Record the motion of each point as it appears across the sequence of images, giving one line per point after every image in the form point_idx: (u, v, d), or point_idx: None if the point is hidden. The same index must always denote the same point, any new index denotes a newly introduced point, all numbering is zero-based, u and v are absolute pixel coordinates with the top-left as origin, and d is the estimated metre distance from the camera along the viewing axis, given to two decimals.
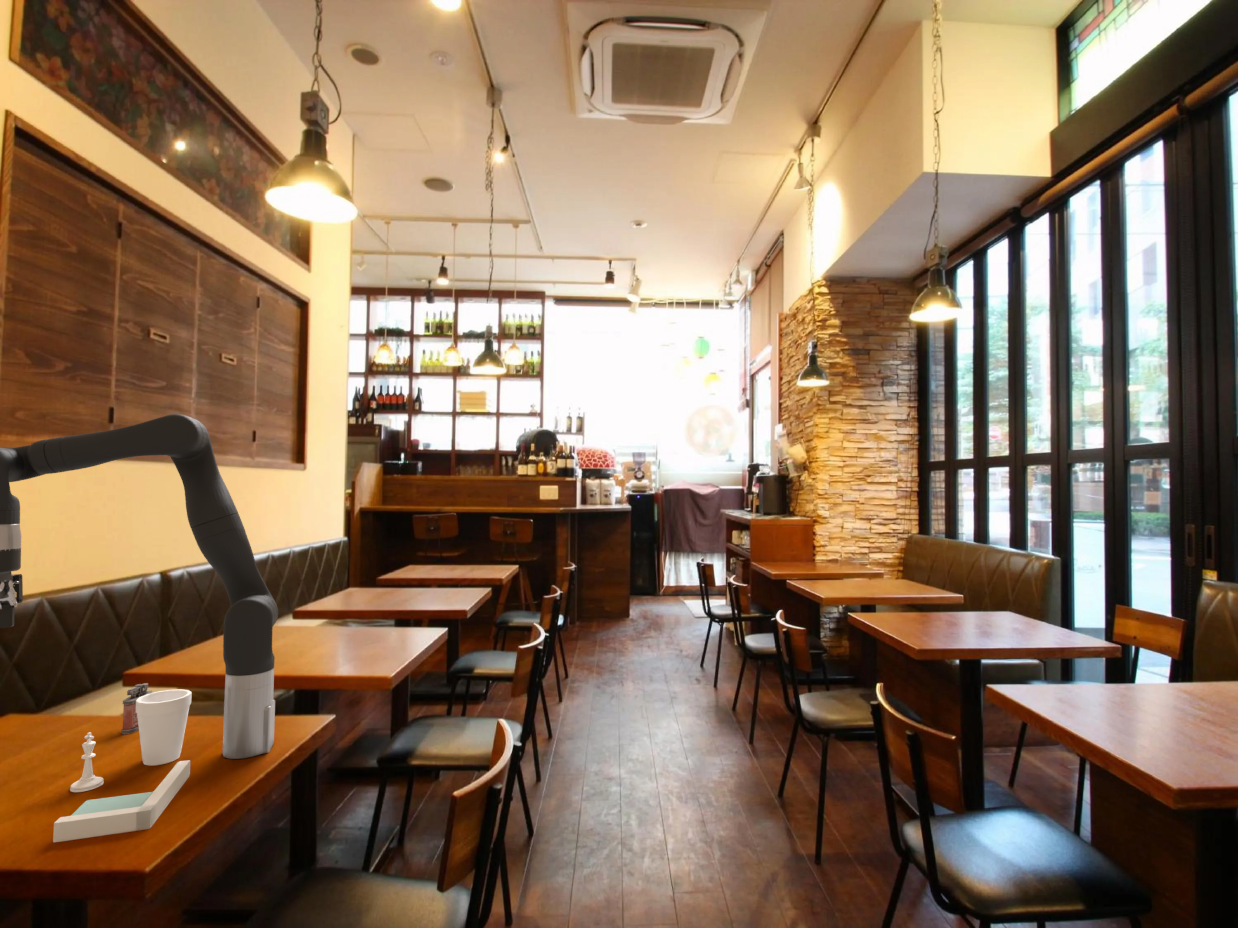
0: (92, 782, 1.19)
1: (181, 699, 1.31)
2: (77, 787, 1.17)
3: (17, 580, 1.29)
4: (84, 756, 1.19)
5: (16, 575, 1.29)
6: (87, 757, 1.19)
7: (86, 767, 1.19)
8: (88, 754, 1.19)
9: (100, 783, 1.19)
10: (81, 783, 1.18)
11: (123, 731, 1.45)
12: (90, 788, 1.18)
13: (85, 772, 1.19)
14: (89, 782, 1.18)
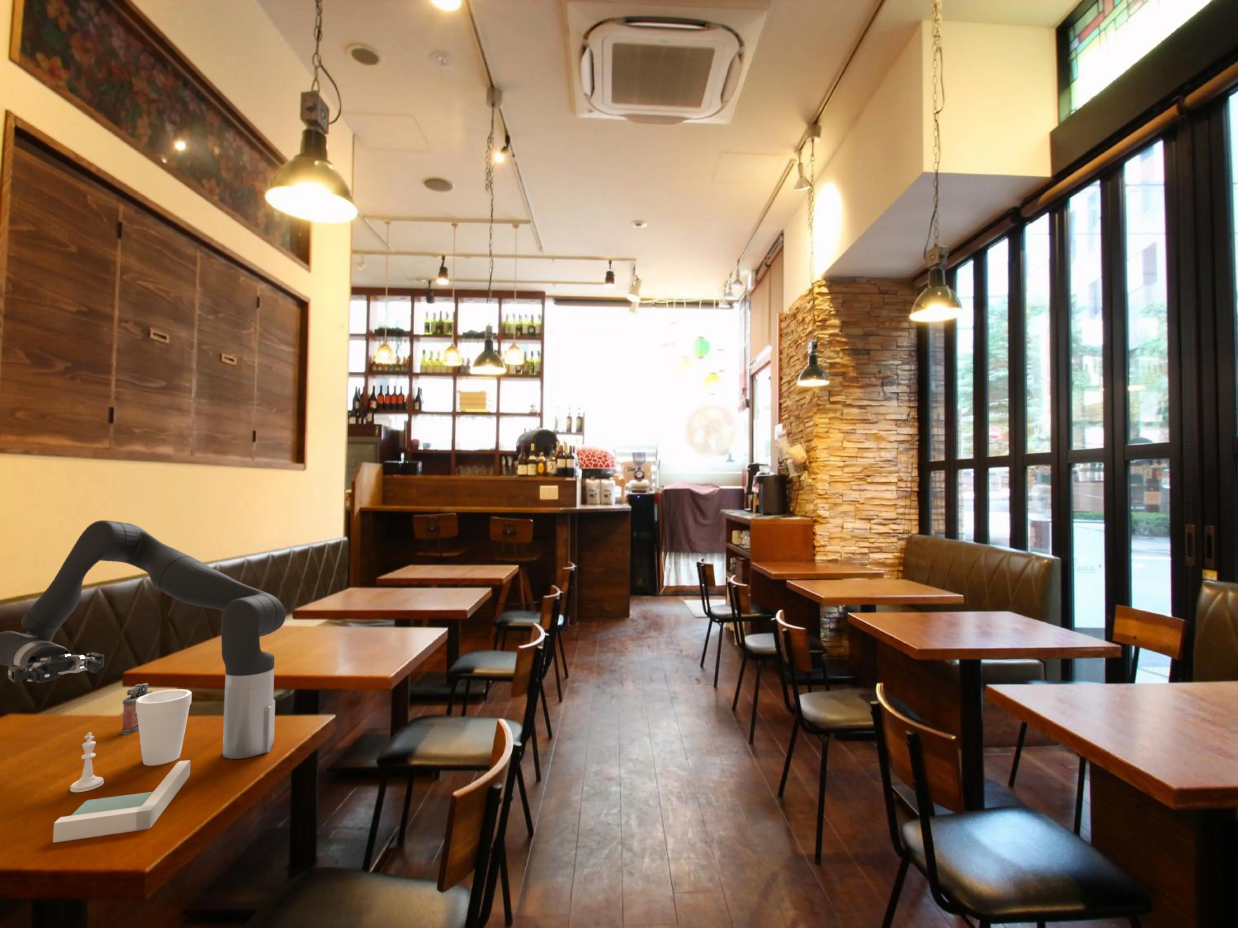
0: (92, 782, 1.19)
1: (181, 699, 1.31)
2: (77, 787, 1.17)
3: None
4: (84, 756, 1.19)
5: None
6: (87, 757, 1.19)
7: (86, 767, 1.19)
8: (88, 754, 1.19)
9: (100, 783, 1.19)
10: (81, 783, 1.18)
11: (123, 731, 1.45)
12: (90, 788, 1.18)
13: (85, 772, 1.19)
14: (89, 782, 1.18)
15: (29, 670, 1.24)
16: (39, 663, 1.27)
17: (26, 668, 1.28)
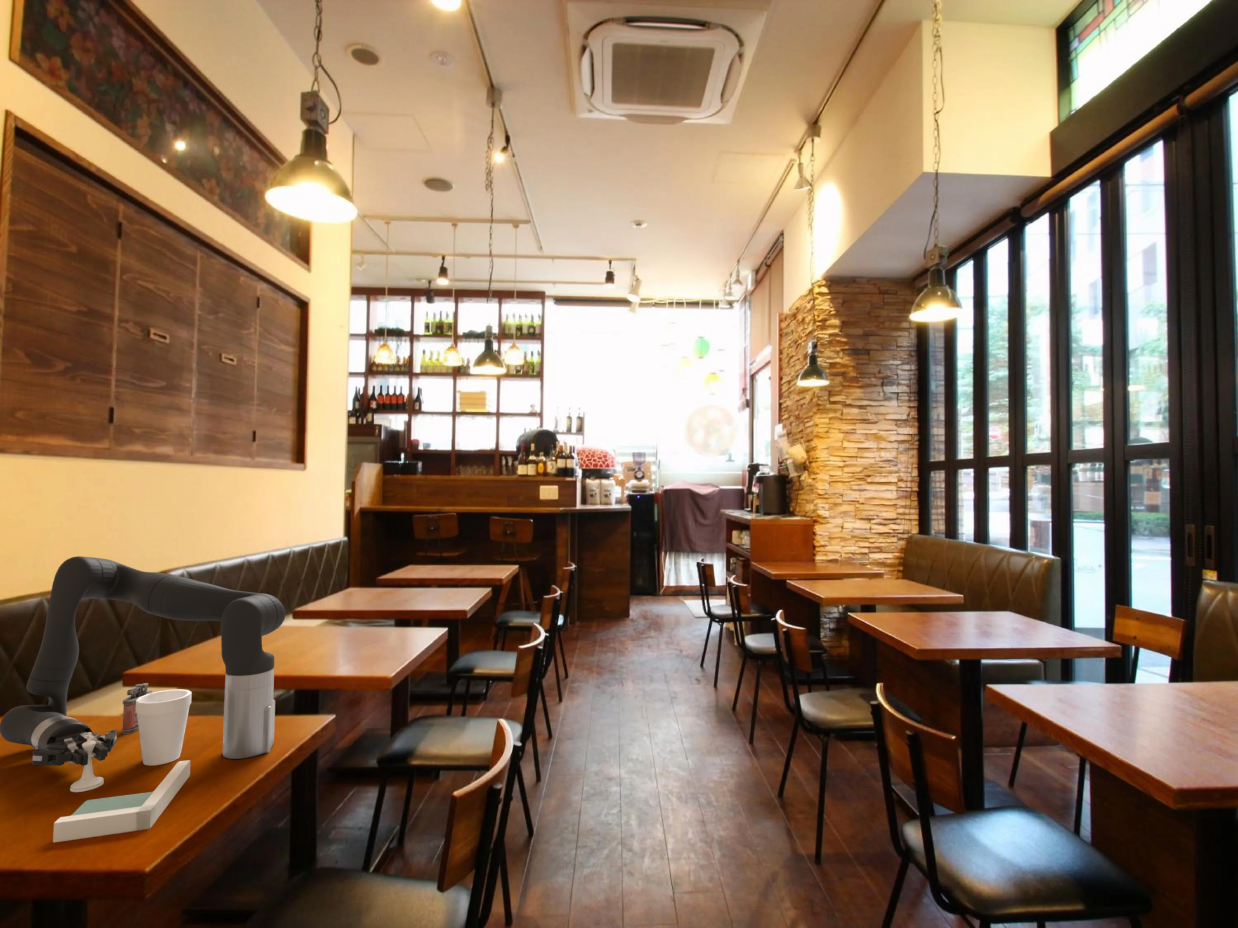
0: (92, 782, 1.19)
1: (181, 699, 1.31)
2: (77, 787, 1.17)
3: None
4: None
5: None
6: None
7: (86, 767, 1.19)
8: (88, 754, 1.19)
9: (100, 783, 1.19)
10: (81, 783, 1.18)
11: (123, 731, 1.45)
12: (90, 788, 1.18)
13: (85, 772, 1.19)
14: (89, 782, 1.18)
15: (71, 751, 1.18)
16: (73, 743, 1.20)
17: None
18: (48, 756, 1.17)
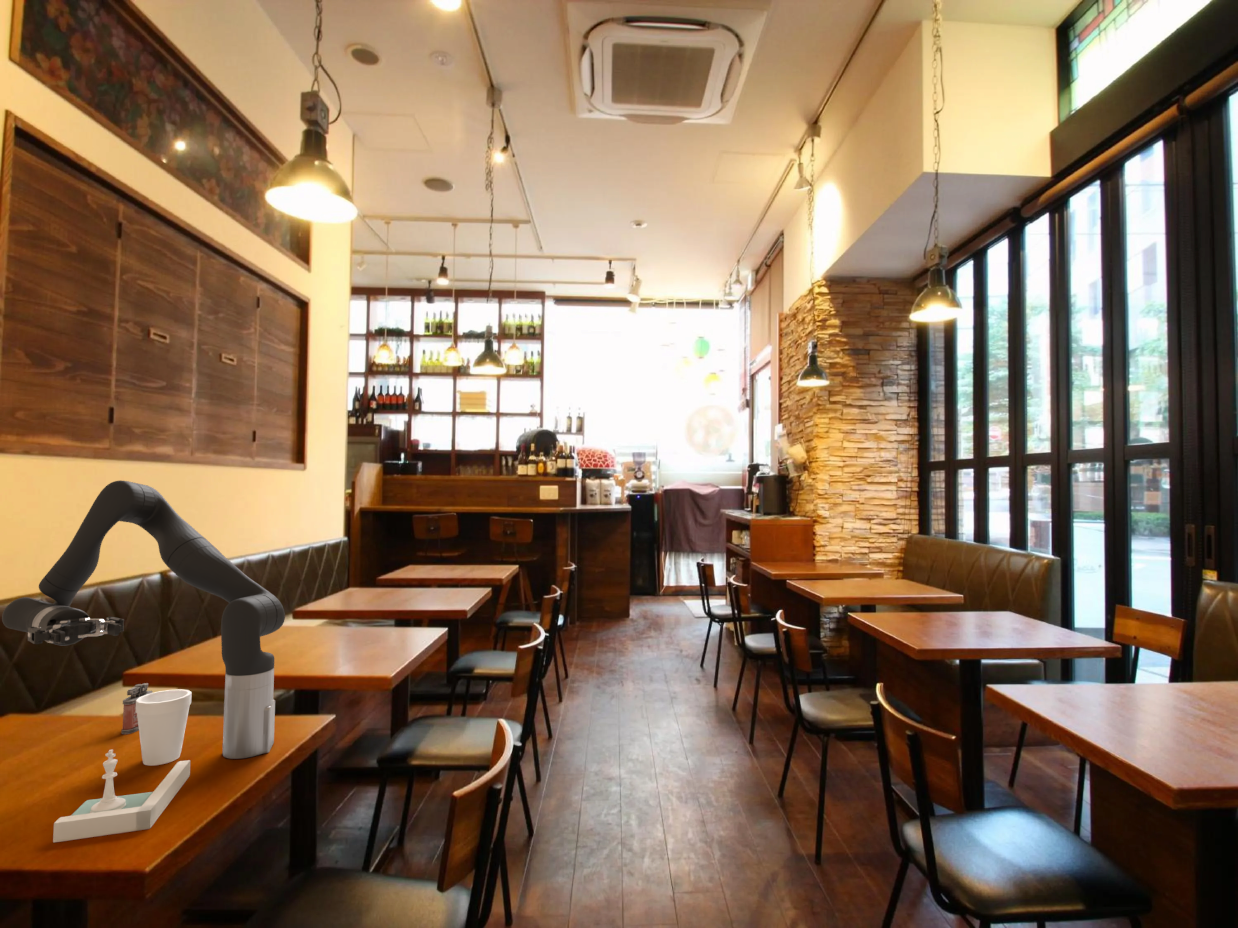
0: (114, 804, 1.09)
1: (181, 699, 1.31)
2: (97, 810, 1.08)
3: None
4: (105, 776, 1.09)
5: None
6: (108, 777, 1.09)
7: (107, 788, 1.09)
8: (109, 773, 1.10)
9: (122, 805, 1.10)
10: (102, 805, 1.08)
11: (123, 731, 1.45)
12: None
13: (106, 793, 1.09)
14: (110, 804, 1.09)
15: (49, 631, 1.21)
16: (59, 625, 1.24)
17: (46, 631, 1.25)
18: (32, 634, 1.21)
